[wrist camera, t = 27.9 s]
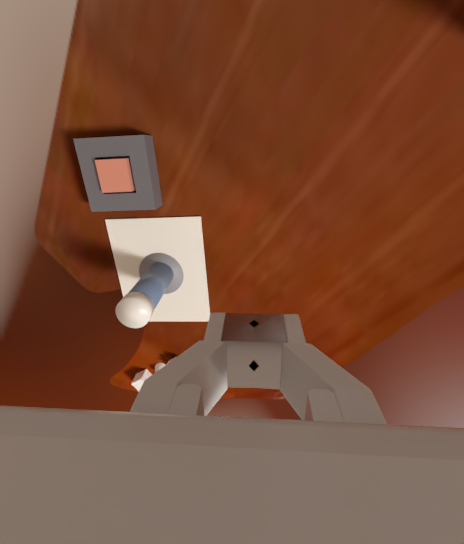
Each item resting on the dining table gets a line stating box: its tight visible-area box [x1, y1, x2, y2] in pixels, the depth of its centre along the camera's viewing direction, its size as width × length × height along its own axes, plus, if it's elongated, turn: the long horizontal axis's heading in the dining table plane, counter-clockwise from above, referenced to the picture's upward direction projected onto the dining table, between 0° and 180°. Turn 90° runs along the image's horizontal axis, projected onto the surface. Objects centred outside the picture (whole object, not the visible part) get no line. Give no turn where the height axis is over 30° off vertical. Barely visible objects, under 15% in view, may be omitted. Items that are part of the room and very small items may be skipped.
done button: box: [95, 158, 136, 193], centre depth 41 cm, size 4×4×3 cm
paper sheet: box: [105, 216, 210, 321], centre depth 50 cm, size 20×16×1 cm
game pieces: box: [131, 356, 178, 392], centre depth 58 cm, size 12×3×3 cm, turn 123°
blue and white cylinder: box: [116, 262, 174, 328], centre depth 43 cm, size 5×5×13 cm
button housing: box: [73, 135, 163, 212], centre depth 42 cm, size 10×10×4 cm
